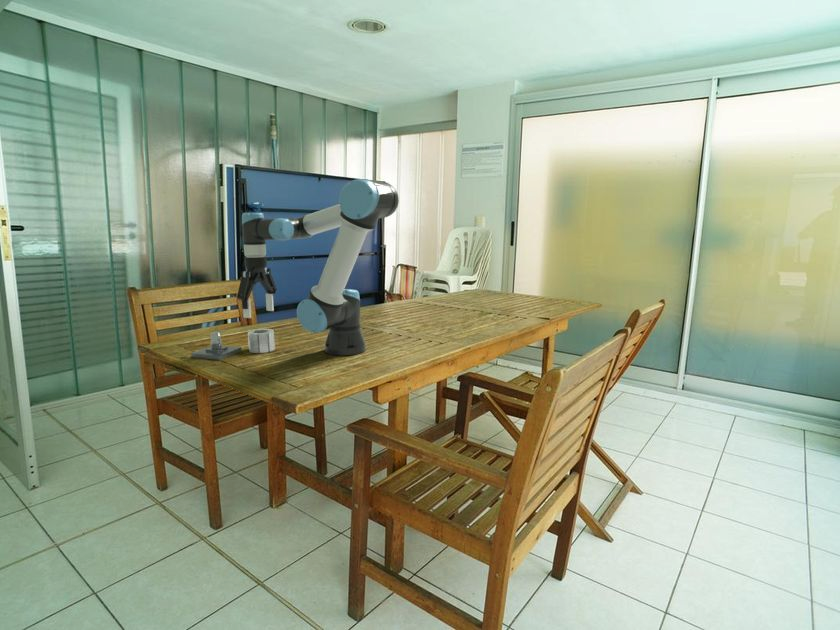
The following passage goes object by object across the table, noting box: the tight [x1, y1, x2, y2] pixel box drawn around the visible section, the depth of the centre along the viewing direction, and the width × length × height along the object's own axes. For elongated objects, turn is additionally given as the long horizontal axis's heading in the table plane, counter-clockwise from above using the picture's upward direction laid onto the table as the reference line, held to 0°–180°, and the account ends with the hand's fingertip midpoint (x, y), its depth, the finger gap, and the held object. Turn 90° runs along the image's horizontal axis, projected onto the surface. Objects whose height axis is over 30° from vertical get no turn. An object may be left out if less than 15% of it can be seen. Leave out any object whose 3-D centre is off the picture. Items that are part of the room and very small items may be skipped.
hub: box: [247, 328, 276, 354], centre depth 184 cm, size 9×9×7 cm
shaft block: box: [190, 331, 243, 361], centre depth 178 cm, size 12×12×8 cm
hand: (259, 314), depth 182 cm, fingers open, 13 cm apart
